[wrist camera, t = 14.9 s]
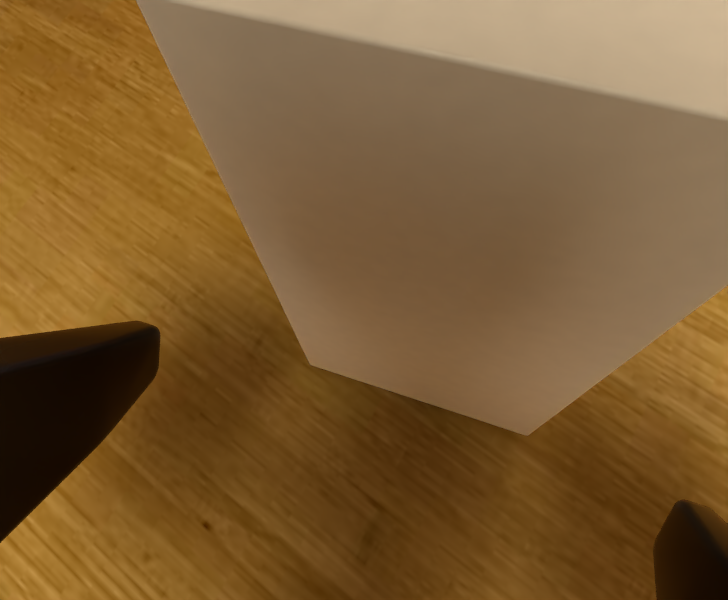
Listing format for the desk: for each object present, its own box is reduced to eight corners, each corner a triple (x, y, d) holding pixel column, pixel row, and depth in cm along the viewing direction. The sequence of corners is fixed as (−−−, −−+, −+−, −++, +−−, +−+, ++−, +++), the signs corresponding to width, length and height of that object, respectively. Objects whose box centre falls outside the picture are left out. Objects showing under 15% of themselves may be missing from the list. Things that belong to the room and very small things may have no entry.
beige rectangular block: (527, 436, 16) (906, 155, 4) (309, 365, 17) (128, -12, 5) (548, 345, 17) (897, -84, 5) (341, 284, 18) (248, -178, 7)
